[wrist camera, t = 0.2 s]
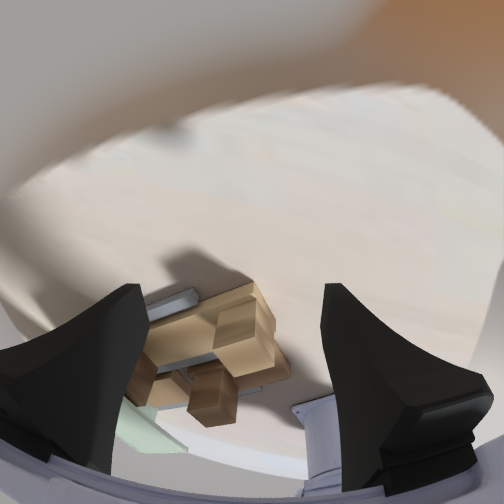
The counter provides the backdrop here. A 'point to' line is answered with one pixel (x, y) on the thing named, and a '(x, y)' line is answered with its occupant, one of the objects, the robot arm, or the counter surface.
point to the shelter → (145, 430)
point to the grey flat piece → (168, 378)
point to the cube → (141, 381)
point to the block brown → (227, 388)
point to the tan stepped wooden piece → (218, 332)
